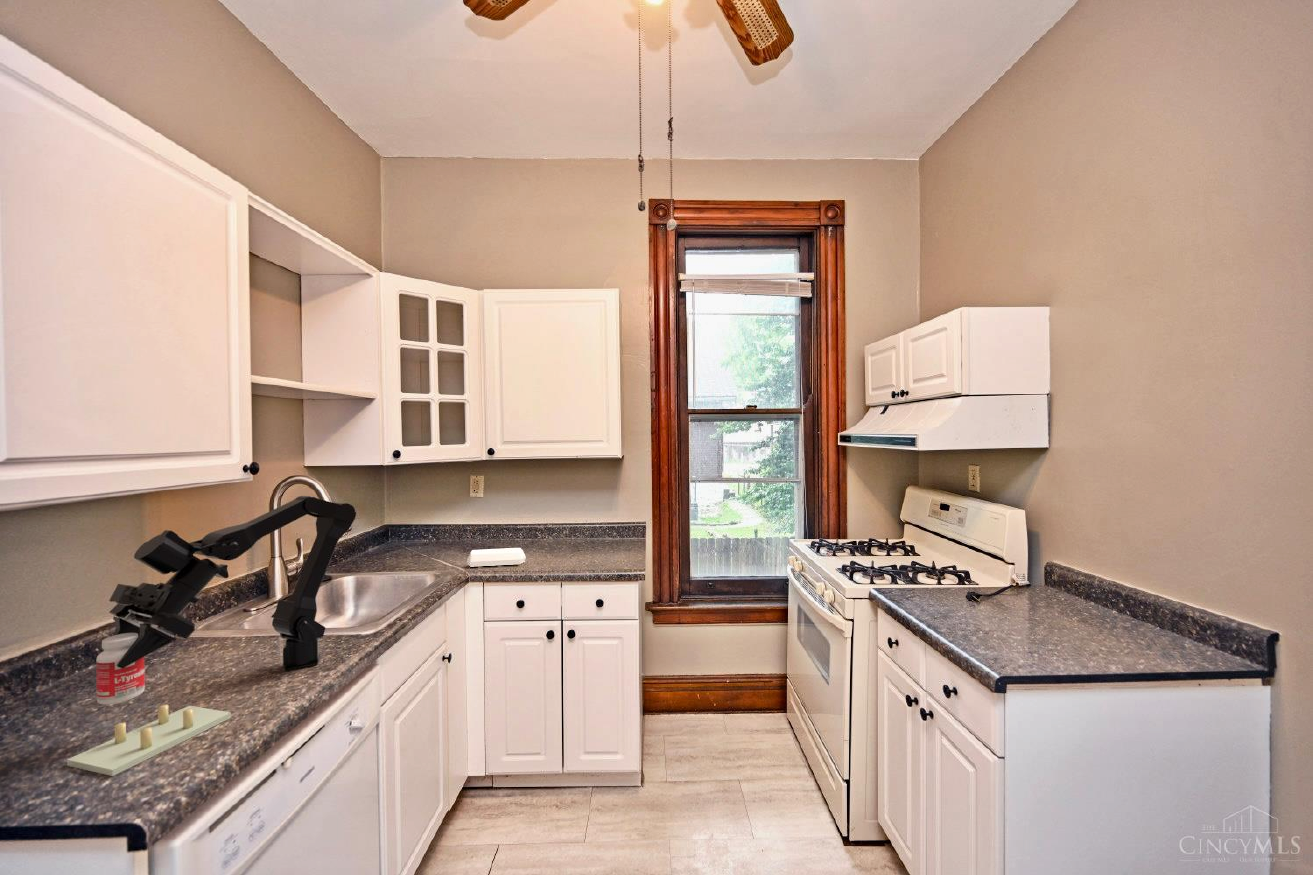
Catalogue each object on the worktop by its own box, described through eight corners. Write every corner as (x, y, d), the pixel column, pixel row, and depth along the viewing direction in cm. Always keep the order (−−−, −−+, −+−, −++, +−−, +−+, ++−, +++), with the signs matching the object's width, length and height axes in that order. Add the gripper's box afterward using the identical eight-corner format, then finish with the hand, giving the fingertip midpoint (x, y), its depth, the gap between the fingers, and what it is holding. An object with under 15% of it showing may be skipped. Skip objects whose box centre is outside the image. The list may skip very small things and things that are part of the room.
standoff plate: (189, 710, 104) (189, 690, 104) (230, 717, 101) (230, 696, 101) (67, 765, 87) (66, 741, 87) (112, 776, 84) (112, 751, 84)
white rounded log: (464, 560, 214) (524, 557, 217) (467, 548, 220) (525, 546, 224) (466, 574, 217) (525, 571, 221) (468, 562, 223) (526, 559, 227)
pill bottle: (114, 707, 93) (113, 644, 92) (87, 704, 94) (85, 642, 94) (154, 690, 99) (152, 631, 99) (128, 687, 100) (126, 629, 100)
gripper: (122, 560, 103) (40, 637, 93) (172, 569, 96) (89, 653, 86) (173, 589, 111) (102, 662, 101) (223, 599, 103) (153, 680, 93)
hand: (110, 664), depth 95 cm, fingers closed on pill bottle, 6 cm apart
